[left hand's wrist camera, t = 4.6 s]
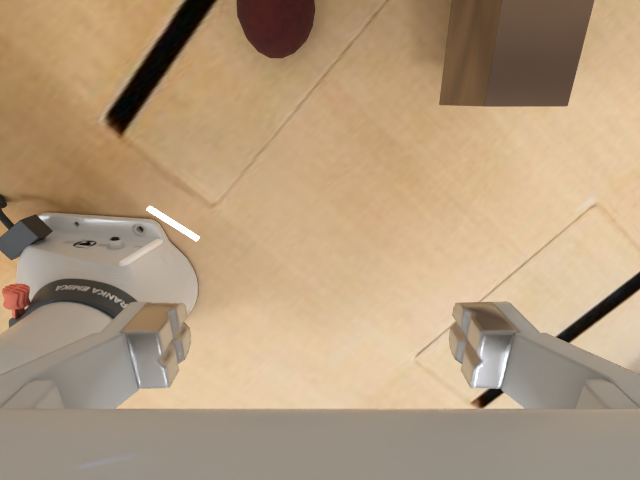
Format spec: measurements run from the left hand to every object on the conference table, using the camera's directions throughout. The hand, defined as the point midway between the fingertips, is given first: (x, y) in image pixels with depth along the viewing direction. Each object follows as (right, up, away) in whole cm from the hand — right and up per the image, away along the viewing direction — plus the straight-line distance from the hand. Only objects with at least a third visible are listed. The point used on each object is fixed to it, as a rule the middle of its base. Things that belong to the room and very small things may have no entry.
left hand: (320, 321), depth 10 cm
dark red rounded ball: (-4, +26, +26) cm, 37 cm away
